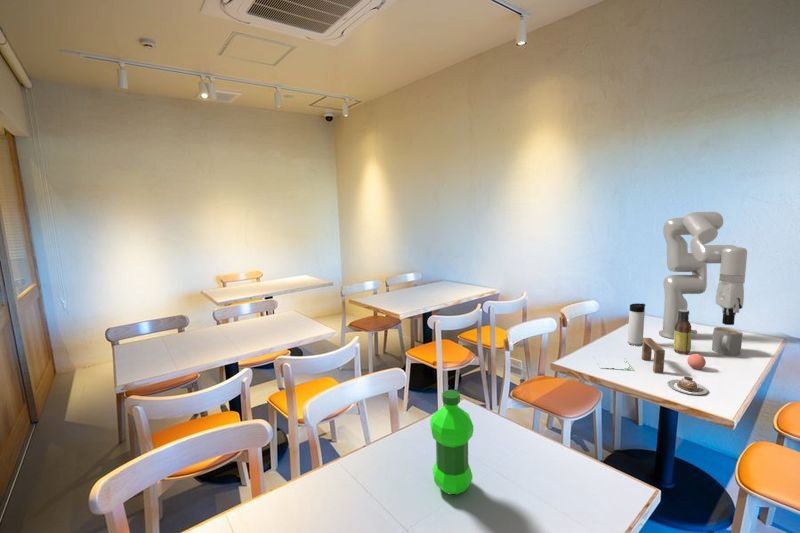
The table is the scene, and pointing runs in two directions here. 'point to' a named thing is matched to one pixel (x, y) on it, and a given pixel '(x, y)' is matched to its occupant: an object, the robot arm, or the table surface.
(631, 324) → the travel mug
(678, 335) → the sauce bottle
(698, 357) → the ball
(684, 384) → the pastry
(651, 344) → the bridge
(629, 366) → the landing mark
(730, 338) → the coffee mug
